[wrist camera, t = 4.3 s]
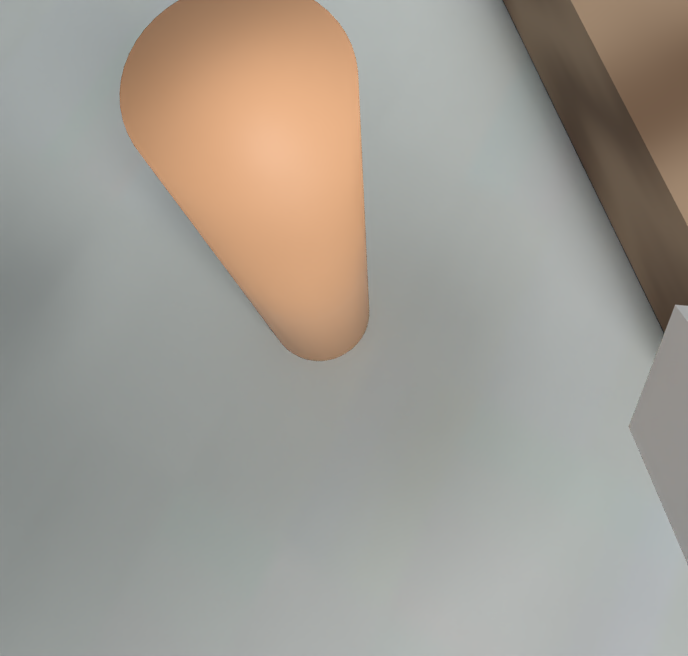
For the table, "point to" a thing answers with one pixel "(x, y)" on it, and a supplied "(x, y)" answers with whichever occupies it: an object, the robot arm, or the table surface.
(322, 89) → the peg
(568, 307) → the table surface
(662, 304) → the hole block
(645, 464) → the robot arm
